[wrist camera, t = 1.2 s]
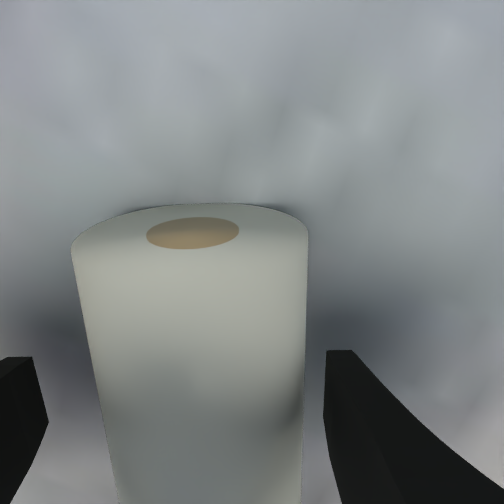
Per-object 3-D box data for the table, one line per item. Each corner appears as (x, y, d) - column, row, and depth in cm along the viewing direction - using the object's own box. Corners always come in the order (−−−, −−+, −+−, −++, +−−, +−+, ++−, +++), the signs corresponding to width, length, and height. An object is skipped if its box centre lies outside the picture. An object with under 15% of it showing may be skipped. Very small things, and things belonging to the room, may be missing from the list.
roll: (274, 419, 15) (328, 564, 10) (128, 446, 14) (117, 619, 9) (273, 195, 12) (348, 261, 7) (87, 210, 11) (44, 295, 6)
